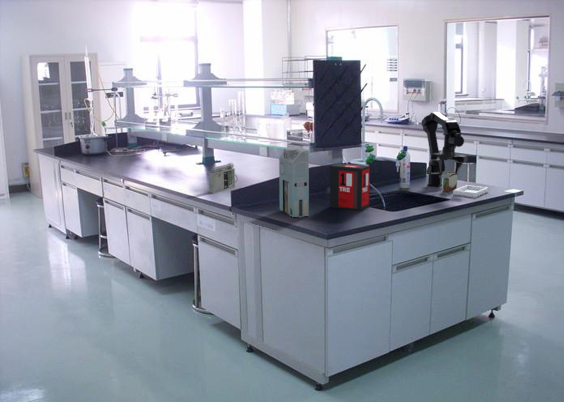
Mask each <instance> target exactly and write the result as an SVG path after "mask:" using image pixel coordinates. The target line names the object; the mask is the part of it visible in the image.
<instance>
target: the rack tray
mask: <svg viewBox="0 0 564 402" xmlns="http://www.w3.org/2000/svg"><path fill="white" fill-rule="evenodd" d="M487 193H489V187H487V186H480V185H479V186H478V185H468V184H466V185H464V186H460V187H459V188H458V187H457V189H455V190H453V192H452V195H453V196H457V197H466V198H474V199H476V198H478V197H480V196H483V195H485V194H487Z"/></svg>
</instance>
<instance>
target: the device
mask: <svg viewBox="0 0 564 402" xmlns="http://www.w3.org/2000/svg"><path fill="white" fill-rule="evenodd" d="M282 149H283V152H282V153H281V154H280V155H279V158H278V162H279V163H278V167H279V170H278V172H279V173H278V174H279V175H278V176H279V180H278V181H279V182H278V183H279V184H278V185H279V211H280V212H283V213H285V212H286V213H288V214H289V215H288V214H287V215H288V216H289V217H291V216H292V218H293V217H297V216H310V215H309V209H310V208H309V201H310V200H309V193H310V188H309V180H310V179H309V178H310V177H309V175H310V174H309V172H310V170H309V169H310V168H309V166H310V165H309V163H310V161H309V157H310V156H309V155H310V154H309V150H308V149H305V148H301V147H298V146H294V145H293V146H291V145H290V146H288V147H287V148H286V147H285V148H282ZM286 213H285V214H286Z"/></svg>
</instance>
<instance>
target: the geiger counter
mask: <svg viewBox="0 0 564 402" xmlns="http://www.w3.org/2000/svg"><path fill="white" fill-rule="evenodd" d="M234 167H235V165H234V163H233V162H228V163H227V164H223V165H218V166H214V167H211V169H210V171H208V172H206V175H207V176H208V186H209V194H216V193H220V192H224V191H226V190H230V189H234V188H236V183H237V182H238V180H239V179H238V176H237V174H236V171H235V170H236V169H235V168H234Z"/></svg>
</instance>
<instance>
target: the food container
mask: <svg viewBox="0 0 564 402" xmlns="http://www.w3.org/2000/svg"><path fill="white" fill-rule="evenodd" d="M441 177H442V191H443V192H444V193H446V192H447V194H450V193H453V190H455V189H458V177H459V172H458V173H457V175H456V170H455V171H451V170H449V171H444V172H443V174H442V175H441Z"/></svg>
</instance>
